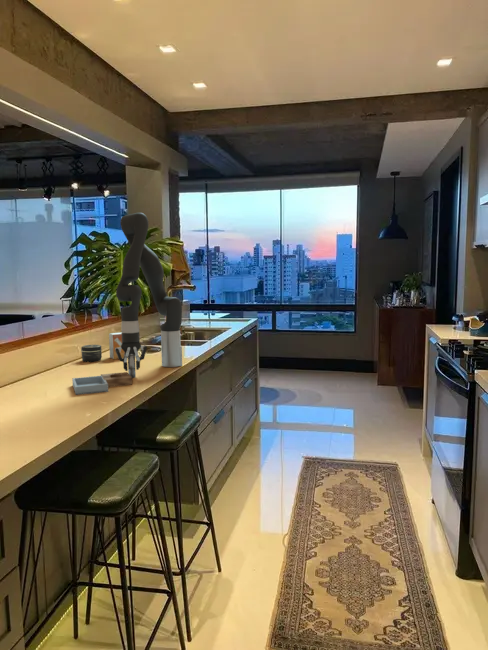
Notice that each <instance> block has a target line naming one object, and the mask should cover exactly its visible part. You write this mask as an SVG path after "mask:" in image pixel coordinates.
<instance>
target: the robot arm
mask: <svg viewBox="0 0 488 650" xmlns="http://www.w3.org/2000/svg"><path fill="white" fill-rule="evenodd" d="M120 227H121V230H122V232H123V235H124V236H125V238H126V239H127V242H128V244H129V245H130V246H129V249H128V251H127V252H126V255H125V257H124V259H123V263H122V265H123V266H122V273H121V277H120V280H119V282H118V285H117V286H116V292H115V295H116V299H118V301H120V302H131V304H130V305H128V306H123V307H122V308H121V311H120V313H121V324H120V325H121V327H120V328H121V329H120V330H121V332H122V345H121V347H118V348H115V351H116V353H117V356H118V359H117V360H119V362H122V363H123V369H124V372H125V371H126V372H128V355H130V354H135V370H137V371H138V370H139V369H140V368H141V361H142V360H144V359H145V357H146V353H147V350H148V347H147V346H146V345H142V344H141V343H140V342H141V341H140V338H141V337H140V324H139V323H140V322H139V308H140V302H141V299H142V291H143V290H142V288H141V287H140V285H138V284H130V283H132V282H135V281H138V280H139V278H140V269H141V271H142V274H143V276H144V278H145V280H146V282H147V286H148V287H149V289H150V292H151V295H152V299H153V301H154V304H155V308H156V310H157V311H158V314H159V315H162V316H165V317H166V320H165V321H164V323H162V324H161V326H160V343H161V344H160V346H161V347H160V348H161V349H160V350H161V353H160V354H161V367H165V368H177V367H181V366H183V346H182V345H181V325H182V323H183V322H182V321H183V320H182V319H183V306H182V302H181V300H180V298H178V297H175V296H174V297H173V296H169V295H168V294H167V292H166V290H165V286H164V274H165V273H164V267H163V265H162V262H161V261H160V259H159V256H158V255H157V254H156V253H155V252H154V251H153V250H152V249H151V248H149V247H148V245H146V244H145V242H146V238H147V235H148V230H149V219H148V217H147V215H146V214H144V213H143V212H135V213H130V214H125V215H122V217H121V218H120ZM121 349H122V350H123V351H124V352H125V353H124V358H122V357H121V355H120V352H121ZM140 350H141V353H140V355H139V353H138V351H140Z"/></svg>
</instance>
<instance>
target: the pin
mask: <svg viewBox="0 0 488 650" xmlns="http://www.w3.org/2000/svg"><path fill="white" fill-rule="evenodd" d="M127 369H128V371H127V373H128V374H129V375H130V376H131V377H132V379H133V378H136V375H137V373H136V357H135V354H130V355H128V358H127Z"/></svg>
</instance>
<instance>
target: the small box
mask: <svg viewBox="0 0 488 650" xmlns="http://www.w3.org/2000/svg"><path fill="white" fill-rule="evenodd" d="M108 341H109V343H108V344H109V345H108V346H109V358H110V359H113V360H119V359H118V356H117V353H116V351H115V348H118V347H121V345H122V332H111V333H108ZM124 353H125V352H124V351H123V350H122V349H121V352H120V355H121V357H122V358H124Z"/></svg>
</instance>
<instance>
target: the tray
mask: <svg viewBox="0 0 488 650" xmlns="http://www.w3.org/2000/svg"><path fill="white" fill-rule="evenodd" d="M72 387H73V391H74V394H75V396H78V395H86V394H88V395H89V394H99V393H107V392H109V387H108V383H107V382H106V380H105V378H104V379H103V377H102V376H101V375H97V376H83V377H82V376H81V377H73V378H72Z"/></svg>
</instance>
